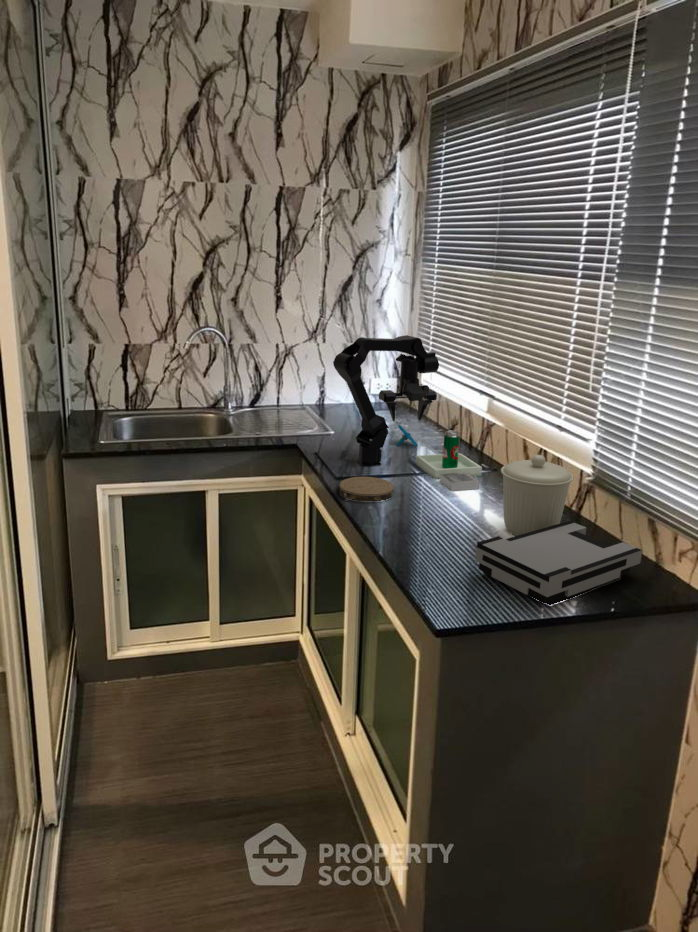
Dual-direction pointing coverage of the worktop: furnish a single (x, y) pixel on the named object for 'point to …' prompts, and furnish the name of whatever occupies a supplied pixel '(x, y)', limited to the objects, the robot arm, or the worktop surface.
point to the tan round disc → (366, 489)
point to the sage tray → (434, 468)
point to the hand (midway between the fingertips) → (406, 420)
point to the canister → (533, 494)
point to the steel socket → (459, 481)
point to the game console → (555, 561)
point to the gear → (405, 437)
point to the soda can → (450, 449)
